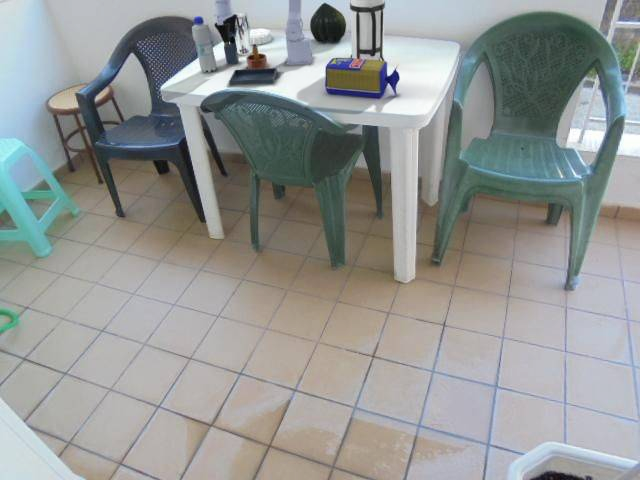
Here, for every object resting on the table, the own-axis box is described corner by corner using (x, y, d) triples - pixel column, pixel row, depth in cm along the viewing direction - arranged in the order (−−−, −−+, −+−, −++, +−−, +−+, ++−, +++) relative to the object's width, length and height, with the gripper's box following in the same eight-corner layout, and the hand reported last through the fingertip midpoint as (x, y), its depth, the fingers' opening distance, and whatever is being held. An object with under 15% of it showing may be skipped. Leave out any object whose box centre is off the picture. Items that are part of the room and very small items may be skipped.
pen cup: (268, 63, 191) (267, 52, 188) (266, 71, 185) (264, 60, 182) (249, 64, 192) (248, 53, 189) (246, 72, 186) (244, 61, 183)
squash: (336, 35, 194) (342, -2, 194) (302, 35, 199) (308, -2, 199) (346, 50, 208) (352, 15, 208) (314, 49, 213) (319, 15, 213)
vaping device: (238, 64, 192) (233, 33, 184) (226, 64, 193) (219, 33, 185) (240, 62, 193) (235, 31, 186) (228, 62, 194) (222, 31, 187)
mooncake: (263, 46, 207) (261, 37, 204) (239, 43, 211) (237, 35, 209) (276, 37, 215) (275, 28, 212) (253, 34, 219) (252, 26, 217)
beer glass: (234, 55, 201) (227, 17, 191) (242, 49, 205) (235, 11, 196) (248, 56, 198) (242, 17, 189) (256, 50, 203) (251, 12, 193)
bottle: (210, 75, 186) (198, 20, 173) (197, 72, 189) (184, 18, 176) (221, 69, 190) (211, 14, 177) (208, 66, 193) (197, 13, 180)
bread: (332, 83, 172) (331, 54, 166) (401, 89, 165) (402, 58, 158) (322, 95, 165) (321, 65, 159) (394, 101, 158) (396, 70, 151)
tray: (277, 73, 183) (276, 68, 182) (273, 84, 175) (273, 79, 174) (235, 75, 184) (234, 69, 183) (230, 86, 176) (229, 81, 175)
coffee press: (338, 64, 186) (334, -23, 166) (364, 51, 194) (364, -33, 175) (374, 74, 176) (374, -17, 157) (400, 60, 185) (403, -28, 165)
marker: (260, 65, 189) (257, 43, 183) (259, 67, 187) (256, 45, 182) (255, 65, 189) (252, 43, 183) (254, 67, 187) (251, 45, 182)
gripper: (217, -5, 183) (224, 32, 192) (205, 6, 172) (213, 45, 181) (235, -6, 182) (242, 32, 191) (224, 6, 171) (231, 45, 180)
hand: (229, 38), depth 186 cm, fingers open, 7 cm apart
